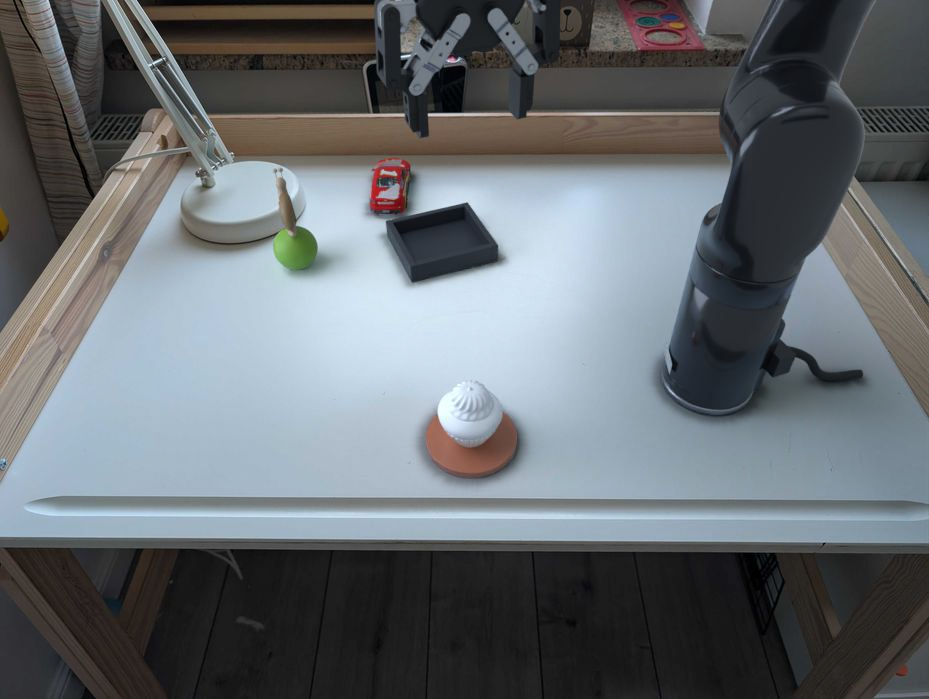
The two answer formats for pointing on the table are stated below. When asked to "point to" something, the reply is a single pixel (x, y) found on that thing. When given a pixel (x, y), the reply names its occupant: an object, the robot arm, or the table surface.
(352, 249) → the table surface
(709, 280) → the robot arm
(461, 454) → the plate
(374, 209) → the race car
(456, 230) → the tray
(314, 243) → the snail figurine
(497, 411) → the muffin
